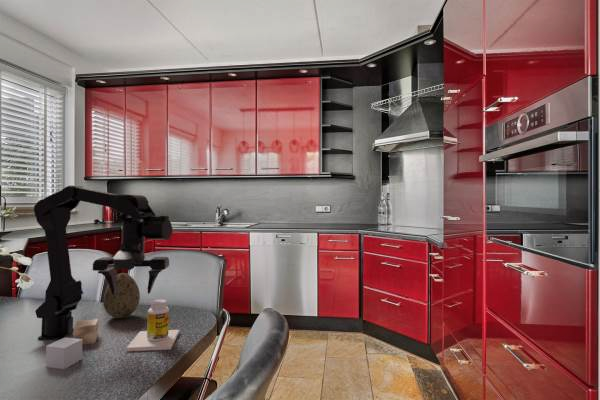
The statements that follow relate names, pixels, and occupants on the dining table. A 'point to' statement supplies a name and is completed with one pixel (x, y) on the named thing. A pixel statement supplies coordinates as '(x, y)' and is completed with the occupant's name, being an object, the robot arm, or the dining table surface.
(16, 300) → the dining table surface
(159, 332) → the supplement bottle
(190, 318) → the dining table surface
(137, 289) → the decorative egg
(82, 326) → the birch block
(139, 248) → the robot arm
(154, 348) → the cream square tile
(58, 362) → the pale grey block
